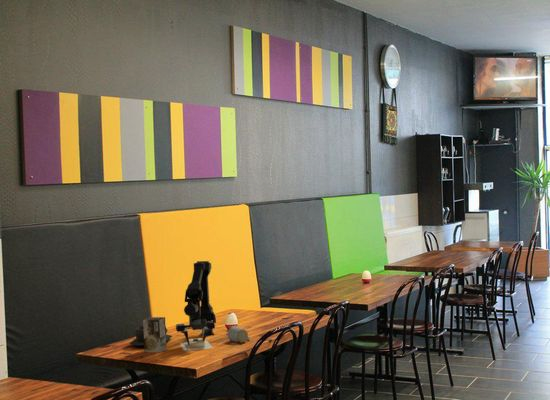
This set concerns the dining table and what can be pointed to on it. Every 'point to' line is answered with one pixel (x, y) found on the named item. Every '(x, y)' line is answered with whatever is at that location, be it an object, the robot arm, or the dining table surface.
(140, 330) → the casserole
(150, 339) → the coffee box
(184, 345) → the mat
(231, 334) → the ceramic mug
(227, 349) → the dining table surface
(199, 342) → the lid
